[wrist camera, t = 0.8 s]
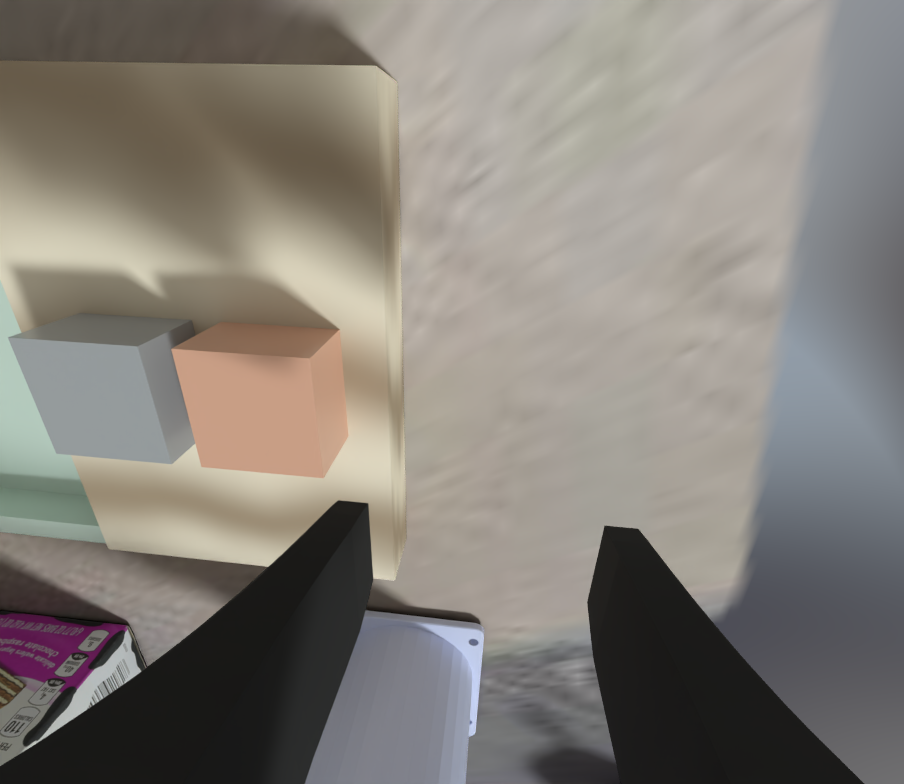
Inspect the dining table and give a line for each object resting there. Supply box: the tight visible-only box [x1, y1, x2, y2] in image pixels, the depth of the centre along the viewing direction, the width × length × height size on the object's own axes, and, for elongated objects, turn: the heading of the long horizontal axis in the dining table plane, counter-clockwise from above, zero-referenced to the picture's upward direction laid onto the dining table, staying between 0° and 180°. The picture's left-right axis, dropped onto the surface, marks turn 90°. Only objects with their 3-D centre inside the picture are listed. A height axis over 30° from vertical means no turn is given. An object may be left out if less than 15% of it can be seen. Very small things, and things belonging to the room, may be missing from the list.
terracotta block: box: [171, 322, 349, 478], centre depth 15 cm, size 4×4×2 cm
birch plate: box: [0, 61, 406, 581], centre depth 17 cm, size 18×13×2 cm
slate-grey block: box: [8, 313, 196, 464], centre depth 15 cm, size 4×4×2 cm
